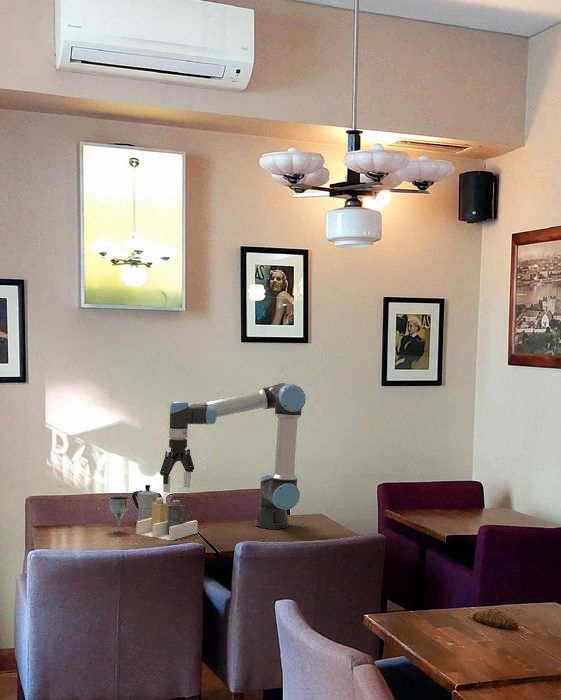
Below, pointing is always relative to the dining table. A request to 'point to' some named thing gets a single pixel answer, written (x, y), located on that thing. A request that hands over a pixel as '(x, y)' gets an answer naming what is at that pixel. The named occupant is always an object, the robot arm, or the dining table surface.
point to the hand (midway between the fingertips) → (177, 489)
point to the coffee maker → (144, 502)
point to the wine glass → (119, 507)
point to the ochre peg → (159, 511)
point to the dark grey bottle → (175, 514)
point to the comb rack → (166, 529)
